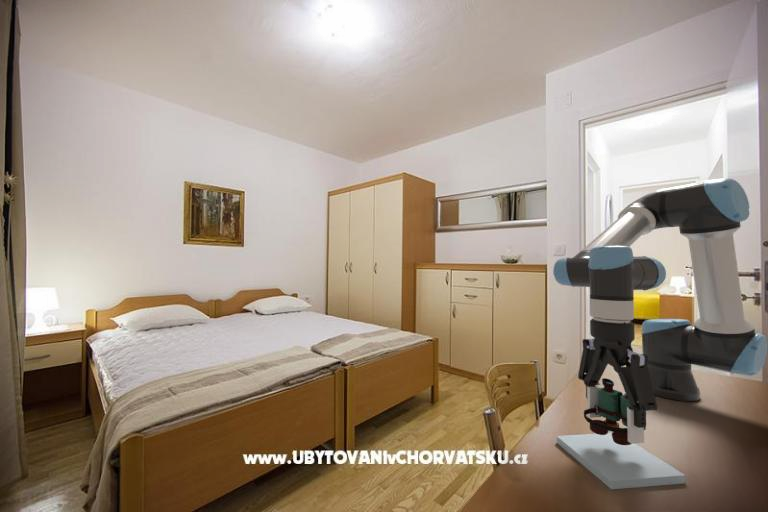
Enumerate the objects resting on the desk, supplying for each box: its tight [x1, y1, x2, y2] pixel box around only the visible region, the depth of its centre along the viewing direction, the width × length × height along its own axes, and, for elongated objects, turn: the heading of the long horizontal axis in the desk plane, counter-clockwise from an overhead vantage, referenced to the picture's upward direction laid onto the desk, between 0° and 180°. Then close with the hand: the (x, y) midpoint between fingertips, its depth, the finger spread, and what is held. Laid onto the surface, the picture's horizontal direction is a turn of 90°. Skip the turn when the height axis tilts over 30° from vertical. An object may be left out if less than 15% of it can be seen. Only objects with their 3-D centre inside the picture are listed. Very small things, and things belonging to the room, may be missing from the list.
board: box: [556, 432, 686, 490], centre depth 65 cm, size 15×15×2 cm
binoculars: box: [583, 377, 647, 445], centre depth 65 cm, size 9×11×10 cm
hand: (613, 428), depth 65 cm, fingers closed on binoculars, 9 cm apart
